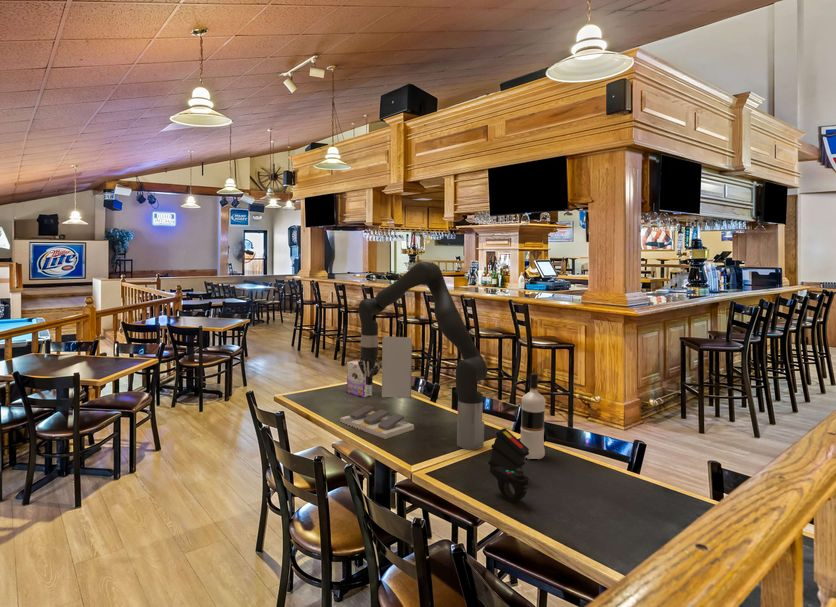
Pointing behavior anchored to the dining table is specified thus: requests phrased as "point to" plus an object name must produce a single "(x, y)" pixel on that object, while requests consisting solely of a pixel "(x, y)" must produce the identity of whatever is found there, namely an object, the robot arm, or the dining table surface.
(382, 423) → the rocker near
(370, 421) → the rocker mid
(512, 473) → the controller
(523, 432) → the vodka
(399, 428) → the switch panel
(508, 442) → the dark striped block
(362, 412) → the rocker far
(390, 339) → the tall grey panel
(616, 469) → the dining table surface
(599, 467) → the dining table surface
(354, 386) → the candy box
